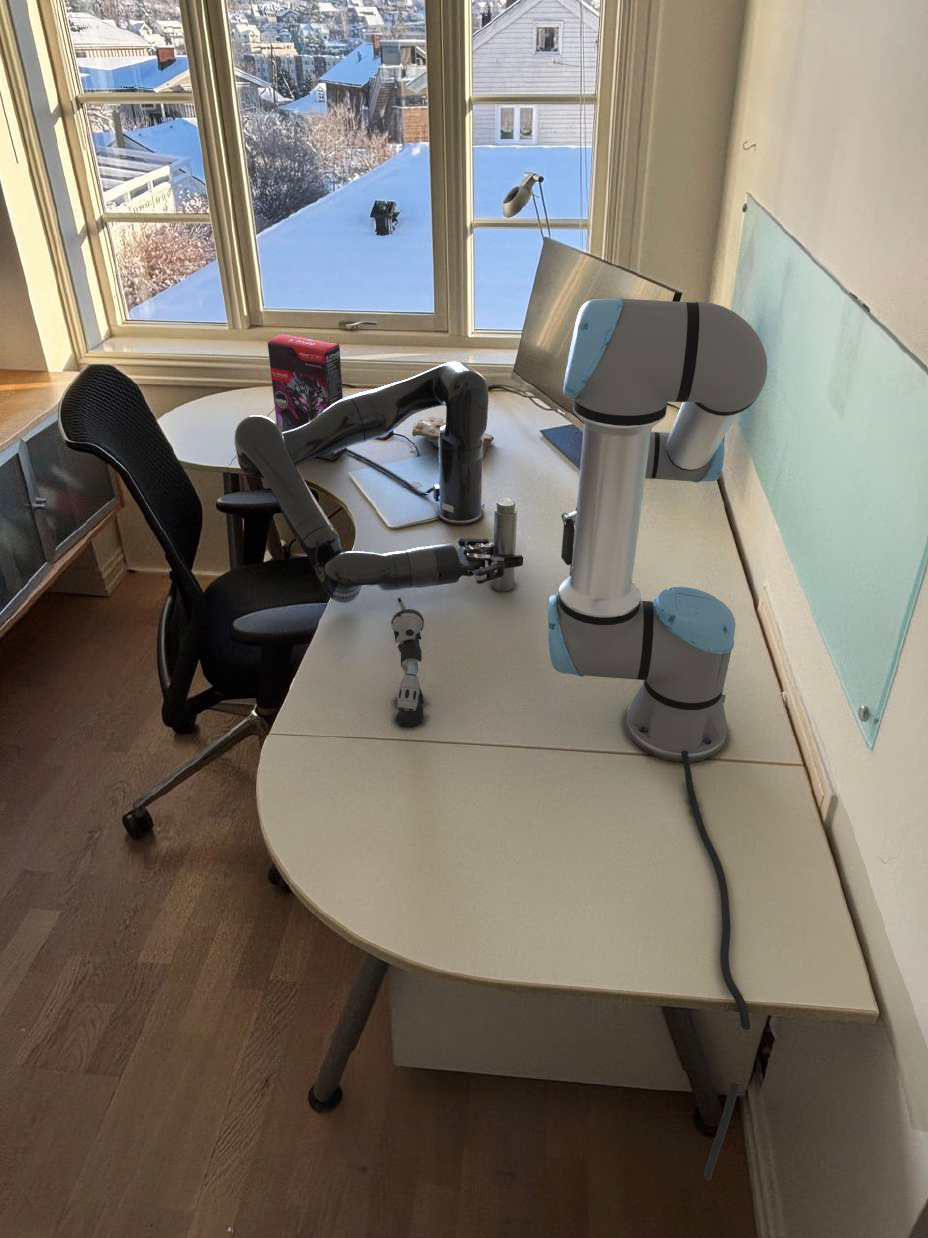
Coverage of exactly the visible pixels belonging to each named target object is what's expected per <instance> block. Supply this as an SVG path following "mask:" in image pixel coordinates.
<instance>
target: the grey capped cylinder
mask: <svg viewBox="0 0 928 1238" xmlns="http://www.w3.org/2000/svg"><path fill="white" fill-rule="evenodd" d="M493 515H494V516H493V518H494V519H493V520H494V521H493V543H494V548H493V557H504V556H511V555H516V549H517V548H516V547H517V546H516V545H517V526H518V525H517V524H518V509H517V507H516V500H515V499H513V498H510V497H502V498H499V499H498V500H497V501H496V505H495V507H494V513H493ZM496 563H498V562H493V563H492V565H493V564H496ZM515 568H516V567H512V568H506V569H504V576H502V577H499V578H496V579H494V580H491V581H492V584H491V585H492V586H491V587H492V588H493V589H494V590H495V591H498V592H509V591H512V590H513V589H514V587H515ZM496 572H497V571H494V573H496Z"/></svg>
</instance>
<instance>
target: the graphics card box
mask: <svg viewBox="0 0 928 1238" xmlns="http://www.w3.org/2000/svg"><path fill="white" fill-rule="evenodd" d="M340 347H341V346H340V343H335V342H333V343H332V342H328V341H322V340H317V339H311V338H306V337H300V336H295V335H289V334H285V333H282V334H279V335H277V336H274V337H273V338H271V339H270V340H268V341H267V351H268V359H269V367H270V369H269V370H270V377H271V378H270V379H271V385H272V386H271V387H272V395H273V403H274V412H275V413H274V414H275V423H276V424H277V425H278V426H279V428H280V429H281V431H282V433H283V432H286V431H290V430H293V429H296V428H298V427H301V426H303V425H305V424H306V423H308V422H309V421H311V420H312V419H314V418H315V417H316V416H317V415H319V414H320V413H321V412H322V411H324V410H325V409H326V408H328V407H329V406H331V405H332V404H334V403H335V402H337V401H339V400H341V399H343V398H344V393H343V380H342V364H341V363H342V362H341V349H340ZM347 449H348V447H346V448H343V449H340V450H337V451H334V452H331V453H328V454H325V455H322V456H319V457H318V458H322V459H326V460H330V461H333V460H335V459H337V458H339V457H340V456H342V455H344V454H345V453H348V452H347Z"/></svg>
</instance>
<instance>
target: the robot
mask: <svg viewBox="0 0 928 1238" xmlns="http://www.w3.org/2000/svg"><path fill="white" fill-rule="evenodd" d="M397 603H398V604H399V607H400V610H399V611H397V612H396V613H395V614H394V615H392V618H391V621H390V624H391V630H392V632H393V635H394V643H395V644H398V645H397V646H396V647H397V649H398V651H399V654H400V668H401V669H402V671H403V674H404V675H403V676H402V678H401V680H400V683H399V686H398V689H397V691H398V692H397V696H396V699H395V703H396V705H397V709H398V712H397V714H396V717H395V722H396V723H397V724H398V725H399V726H400V727H405V728H411V727H414V726H417V725H420V724H422V722H423V720H424V718H425V715H424V707H423V704H424V703H425V702H424V694H423V692H422V689H421V684H420V683H421V682H420V679H419V676H418V675H417V674H418V673H419V662H420V663H421V662H422V660H423V653H422V652H423V651H422V647H421V643H420V641H421V640H422V634H421V632H422V631H423V629H424V628H425V627H424V626H425V619H424V617H423V615H422V614H421V612H420V611H418V610H416V609H413V608H406V605H405V604H404V602H403V600H402V599H401V597H398V598H397Z"/></svg>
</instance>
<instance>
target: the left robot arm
mask: <svg viewBox="0 0 928 1238" xmlns="http://www.w3.org/2000/svg"><path fill="white" fill-rule="evenodd" d="M437 407H445V422H446V424H445V425H443V426H442V427H441V428H440V430H439V447H438V484H433V485H432V486H433V487H430V488H429V489H427V490H426V491H425V492H423V491H420V490H418V489H416V487H414V486H413V485H412V484H411V483H409V482H408V481H407V480H405V479H404V478H402V477H400V476H399V475H397V474H396V473H394V472H393V471H391V470H389V469H388V468H386V467H384V466H382V465H381V464H379V463H376V462H375V461H374V460H371V459H369V458H367V457H365V456H364V455H362V454H359V453H358V452H355V451H353V450H352V449H349V447H352V446H356V445H359V444H363V443H366V442H368V441H372V440H376V439H378V438H380V437H383V436H385V435H388V434H389V433H391V432H393V431H394V430H395V429H397V428H398V427H399V426H400V425H401V424H403V423H404V422H405V421H406V420H407V419H408V418H410V417H411V416H413V415H415V414H417V413H420V412H423V411H425V410H428V409H432V408H437ZM488 413H489V386H488V383H487V380H486V379H485V377H484V376H483V375H482V374H480V373H479V372H478V371H477V370H475V369H474V368H473V367H471V366H470V365H468V364H467V363H465V362H461V361H449V362H445V363H443V364H441V365H438V366H436V367H433V368H431V369H429V370H427V371H424V372H422V373H419V374H417V375H415V376H412V377H410V378H407V379H404V380H401V381H397V382H393V383H390V384H387V385H384V386H381V387H377V388H373V389H370V390H366V391H363V392H359V393H356V394H353V395H350V396H346V397H343V399H341V400H339V401H337V402H335V403H334V404H332V405H331V406H329V407H328V408H326V409H325V410H324V411H322V412H321V413H320V414H319V415H317V416H316V417H315V418H314V419H312V420H311V421H309V422H308V423H306V424H305V425H303V426H301V427H298V428H296V429H293V430H290V431H286V432H283V433H282V431H281V429H280V428H279V426H278V425H277V424H276V421H274V420H272V419H271V418H269V417H268V416H266V415H265V416H264V415H258V414H257V415H255V414H254V415H250V416H247V417H245V418H244V419H242V420H241V421H240V422H239V423H238V425H237V426H236V429H235V431H234V439H233V441H234V442H233V443H234V449H235V453H236V459H237V462H238V465H239V468H240V470H241V471H242V472H243V473H244V474H246V475H247V476H249V477H252V478H255V479H256V478H257V479H264V480H265V481H266V483H267V484H268V487H269V488H270V490H271V492H272V493H273V496H274V498H275V500H276V502H277V504H278V507H279V509H280V512H281V513H282V516H283V517H284V520H285V522H286V524H287V526H288V528H289V530H290V531H291V533H292V535H293V537H294V538H295V540H296V541H297V543H298V544H299V547H301V549H302V550H303V552H304V553H305V555H306V557H307V558H308V560H309V563H310V565H311V567H312V569H313V572H314V574H315V577H316V579H317V581H318V582H319V585H320V586H321V588H322V590H323V592H324V593H325V595H327V596H328V597H329V598H330V599H331V600H332V601H335V602H337V603H341V604H346V603H350V602H353V601H354V600H356V598H357V597H358V596H359V595H360V593H361V590H362V587H364V586H377V587H378V588H379V589H380V590H381V591H385V592H387V591H388V592H389V591H390V592H391V591H398V590H405V589H413V588H427V587H428V588H429V587H436V586H442V585H450V584H456V583H458V582H459V580H460V578H461V577H473V578H474V579H475V584H478V585H481V584H485V583H487V582H490V581H493V580H494V579H496V578H499V577H502V576H504V569H506V568H512V567H515V568H518V567H522V566H523V565H524V556H523V555H522V554H520V553H519V554H515V555H511V556H504V557H493V548H494V542H490V539H489V538H478V537H477V538H476V537H475V538H472V537H471V538H468V537H459V538H458V539H457V547H456V546H455V544H453V543H452V542H446V543H438V544H431V545H423V546H417V547H413V548H409V549H405V550H404V549H403V550H397V551H389V552H384V553H380V552H372V551H359V550H358V551H357V550H348V551H344V550H343V548H342V544H341V540H340V535H339V534H338V531H337V530H336V529H335V526H334V525H333V524H332V522H331V521H330V519H329V518H328V516H327V514H326V513H325V511H324V510H323V508H322V507H321V506H320V504H319V502H318V500H317V499H316V497H315V495H314V494H313V493H312V491H311V490H310V488H309V486H308V484H307V483H306V481H305V480H304V478H303V476H302V474H301V472H300V471H299V469H298V467H297V466H299V465H301V464H303V463H306V462H309V461H311V460H313V459H316V458H320V457H319V456H322V455H325V454H328V453H331V452H334V451H337V450H340V449H343V448H346V447H347V452H346V453H347V454H350V455H352V456H355V457H357V458H359V459H361V460H363V461H364V462H367V463H368V464H370V465H372V466H374V467H376V468H378V469H379V470H381V471H382V472H384V473H386V474H387V475H390V476H391V477H393V478H394V479H396V480H397V481H399V482H401V483H402V484H403V485H405V486H406V487H408V488H409V489H410V490H411V491H412V492H414V493H415V494H417V495H418V496H422V497H423V496H428V495H429V494H431V492H432V493H433V496H432V497H433V499H434V502H437V503H438V517H439V519H440V520H441V521H443V522H445V523H447V524H451V525H456V526H457V525H458V526H463V525H471V524H474V523H476V522H478V521H480V519H481V518H482V516H483V510H482V503H483V502H482V499H483V498H482V497H483V457H482V448H483V435H484V433H486V430H487V426H488ZM425 493H429V494H425ZM486 562H487V564H486ZM493 562H498V563H496V564H493ZM486 565H487V566H486ZM494 571H497V572H496V573H494Z"/></svg>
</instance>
